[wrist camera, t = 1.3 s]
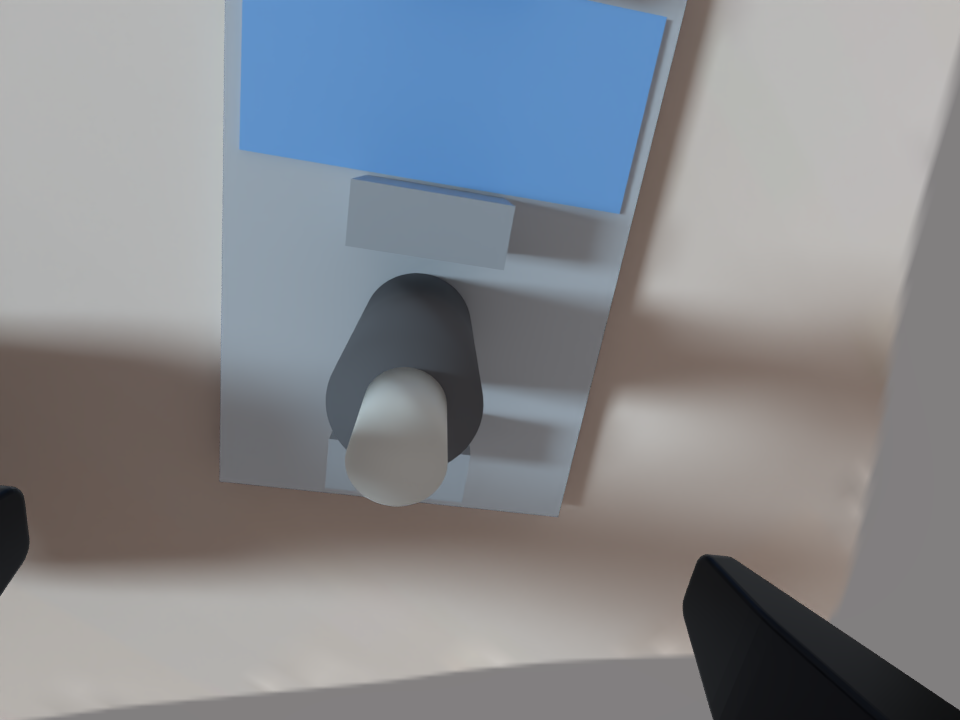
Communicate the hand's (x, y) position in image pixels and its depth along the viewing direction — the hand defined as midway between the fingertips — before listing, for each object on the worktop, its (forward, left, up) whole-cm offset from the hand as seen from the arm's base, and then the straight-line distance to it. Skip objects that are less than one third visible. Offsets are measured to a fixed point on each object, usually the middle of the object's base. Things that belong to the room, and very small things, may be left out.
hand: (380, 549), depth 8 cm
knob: (0, 0, -11) cm, 11 cm away
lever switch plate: (0, +3, -12) cm, 12 cm away
